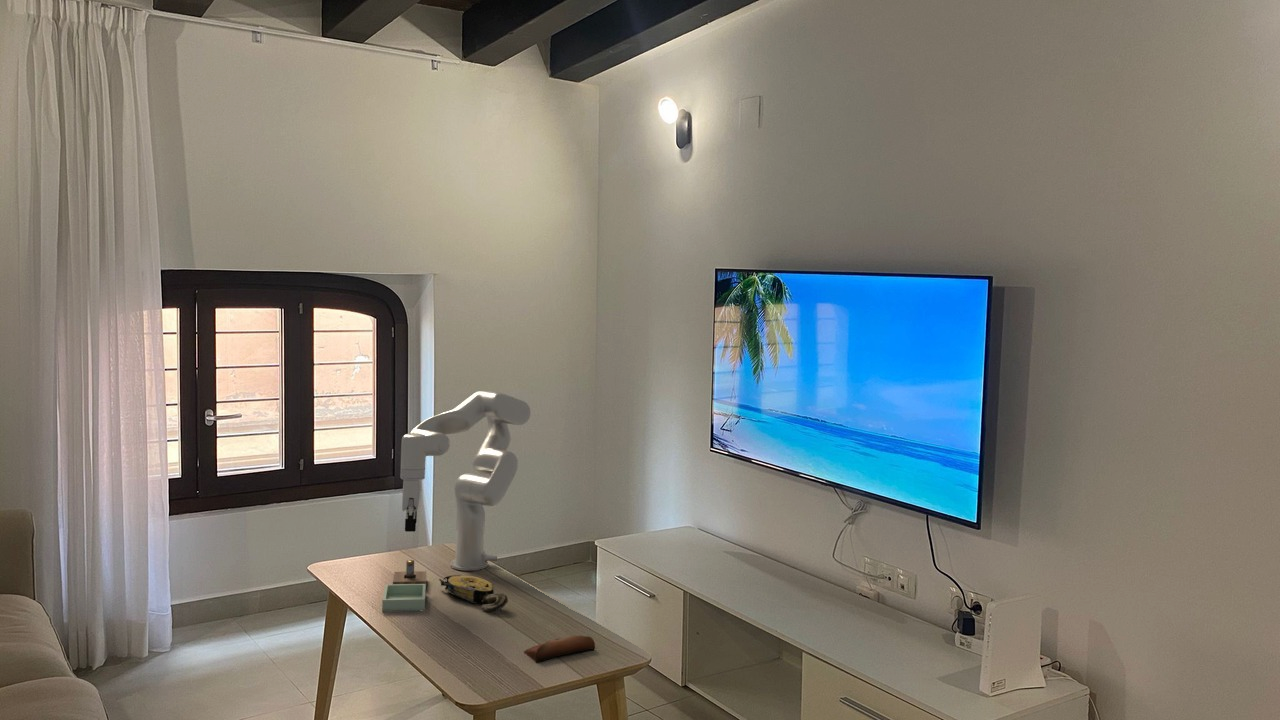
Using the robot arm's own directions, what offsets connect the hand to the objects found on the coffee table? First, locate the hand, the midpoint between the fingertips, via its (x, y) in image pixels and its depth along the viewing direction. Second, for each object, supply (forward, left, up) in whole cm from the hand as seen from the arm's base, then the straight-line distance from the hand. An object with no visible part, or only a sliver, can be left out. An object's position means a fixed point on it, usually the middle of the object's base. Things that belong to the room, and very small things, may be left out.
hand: (410, 527), depth 299 cm
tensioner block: (0, 0, -19) cm, 19 cm away
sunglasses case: (-41, +56, -20) cm, 72 cm away
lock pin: (0, 0, -19) cm, 19 cm away
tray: (+1, +16, -19) cm, 25 cm away
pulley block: (-21, +14, -19) cm, 31 cm away
